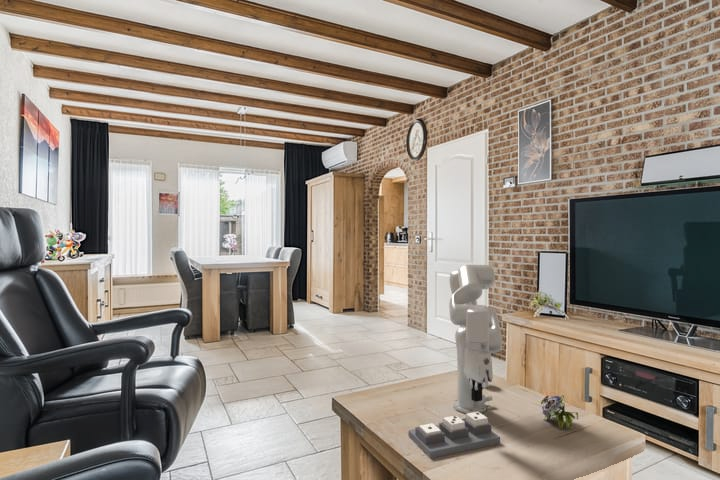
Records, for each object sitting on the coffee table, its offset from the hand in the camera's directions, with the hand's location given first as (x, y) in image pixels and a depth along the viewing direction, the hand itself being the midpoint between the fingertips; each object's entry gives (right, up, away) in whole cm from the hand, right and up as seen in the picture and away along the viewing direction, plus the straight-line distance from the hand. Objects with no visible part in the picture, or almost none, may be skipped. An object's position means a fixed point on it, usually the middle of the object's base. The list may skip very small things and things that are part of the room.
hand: (476, 400), depth 133 cm
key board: (-8, -12, -3) cm, 15 cm away
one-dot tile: (-17, -10, -6) cm, 20 cm away
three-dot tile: (-8, -8, -3) cm, 12 cm away
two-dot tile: (0, -8, 0) cm, 8 cm away
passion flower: (+33, -12, +10) cm, 36 cm away
